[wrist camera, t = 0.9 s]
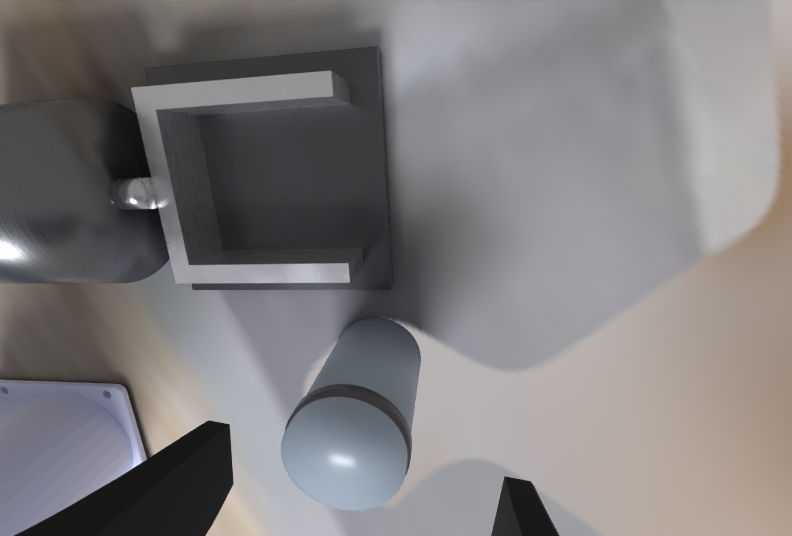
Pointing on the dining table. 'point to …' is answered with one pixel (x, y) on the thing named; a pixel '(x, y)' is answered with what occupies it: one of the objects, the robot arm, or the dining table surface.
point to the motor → (205, 179)
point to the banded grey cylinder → (356, 419)
